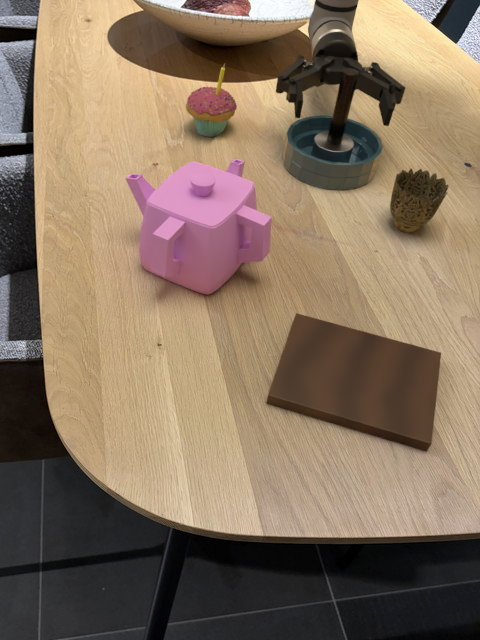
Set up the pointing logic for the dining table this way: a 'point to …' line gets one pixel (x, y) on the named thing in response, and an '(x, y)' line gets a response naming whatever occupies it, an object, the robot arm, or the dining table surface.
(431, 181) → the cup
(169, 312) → the dining table surface
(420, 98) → the dining table surface
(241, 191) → the teakettle
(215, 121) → the cupcake
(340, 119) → the handled rubber stamp
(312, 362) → the board
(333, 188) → the bowl
